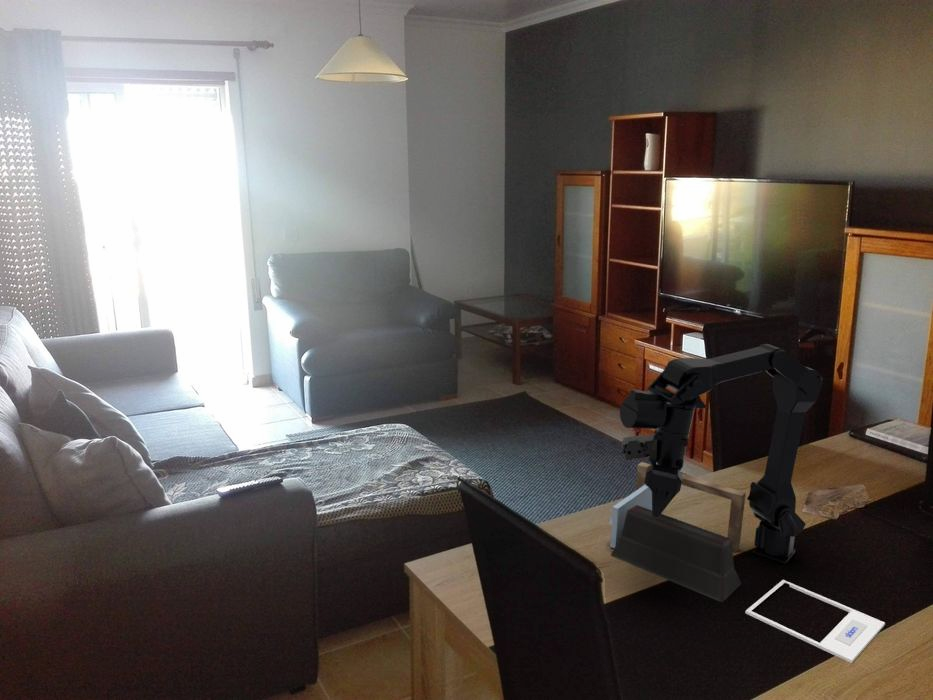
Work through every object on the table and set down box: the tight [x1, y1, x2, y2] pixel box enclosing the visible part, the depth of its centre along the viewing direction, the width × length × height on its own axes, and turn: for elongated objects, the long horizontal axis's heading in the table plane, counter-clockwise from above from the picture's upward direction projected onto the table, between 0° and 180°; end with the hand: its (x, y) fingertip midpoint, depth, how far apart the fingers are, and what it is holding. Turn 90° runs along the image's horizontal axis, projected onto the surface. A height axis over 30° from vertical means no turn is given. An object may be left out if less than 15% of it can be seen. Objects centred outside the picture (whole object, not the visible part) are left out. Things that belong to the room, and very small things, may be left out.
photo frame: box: [744, 579, 886, 664], centre depth 131 cm, size 15×1×18 cm
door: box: [607, 485, 652, 549], centre depth 158 cm, size 16×3×9 cm, turn 139°
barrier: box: [610, 505, 742, 603], centre depth 145 cm, size 24×9×10 cm, turn 47°
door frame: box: [635, 461, 747, 553], centre depth 159 cm, size 23×2×12 cm, turn 50°
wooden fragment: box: [801, 484, 872, 520], centre depth 175 cm, size 26×11×1 cm, turn 123°
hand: (656, 507), depth 140 cm, fingers open, 9 cm apart
